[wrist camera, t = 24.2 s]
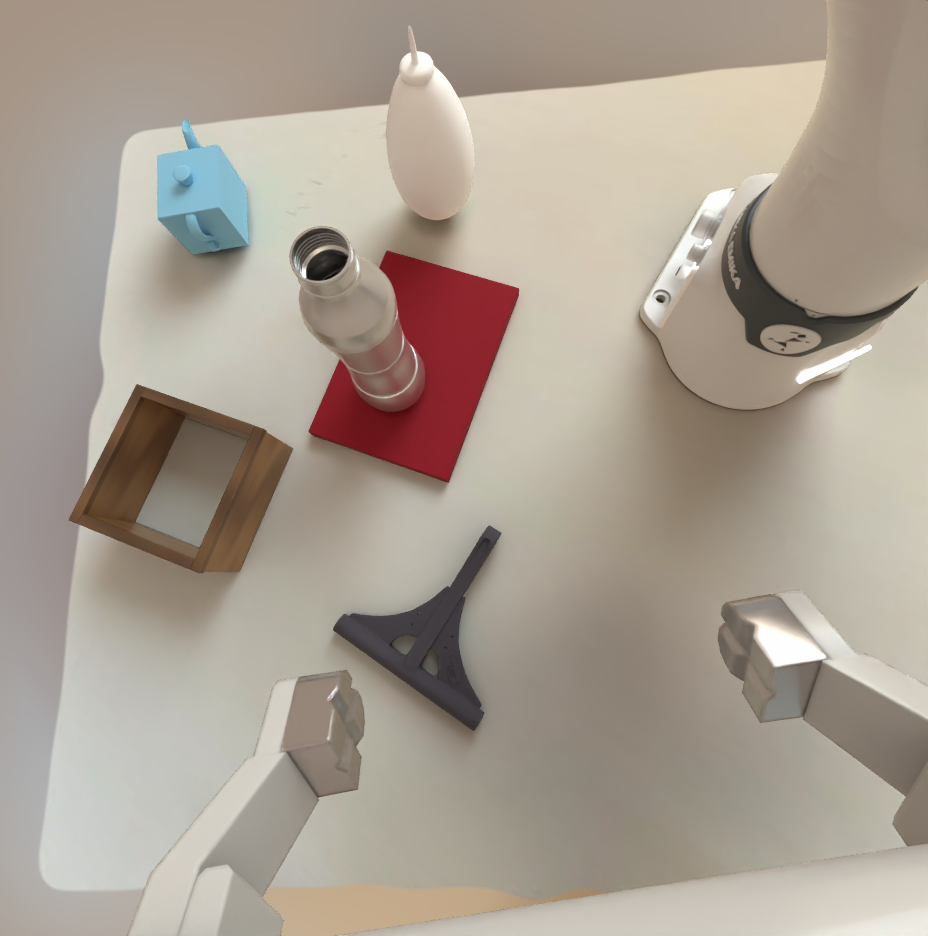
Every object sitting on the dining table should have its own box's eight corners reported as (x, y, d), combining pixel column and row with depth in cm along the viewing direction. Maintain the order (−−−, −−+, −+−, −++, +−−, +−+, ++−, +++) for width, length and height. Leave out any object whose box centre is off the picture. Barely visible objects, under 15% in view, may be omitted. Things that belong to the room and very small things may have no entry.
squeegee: (565, 574, 45) (569, 574, 42) (474, 727, 43) (471, 738, 40) (429, 488, 47) (424, 483, 44) (337, 629, 45) (326, 632, 42)
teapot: (195, 176, 56) (149, 116, 49) (249, 166, 56) (210, 105, 49) (197, 272, 54) (149, 224, 46) (253, 263, 53) (213, 213, 46)
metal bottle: (387, 432, 47) (306, 331, 28) (347, 378, 49) (242, 246, 29) (443, 390, 48) (401, 262, 28) (401, 339, 49) (333, 182, 30)
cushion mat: (389, 257, 52) (386, 250, 51) (518, 294, 50) (519, 288, 49) (312, 435, 49) (308, 431, 48) (448, 482, 47) (447, 480, 46)
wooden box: (181, 407, 51) (136, 383, 44) (294, 447, 49) (263, 428, 43) (124, 527, 49) (67, 520, 42) (239, 573, 47) (199, 573, 40)
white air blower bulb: (478, 173, 54) (466, -23, 36) (477, 239, 52) (463, 68, 34) (404, 176, 54) (357, -15, 37) (401, 242, 53) (350, 74, 35)
